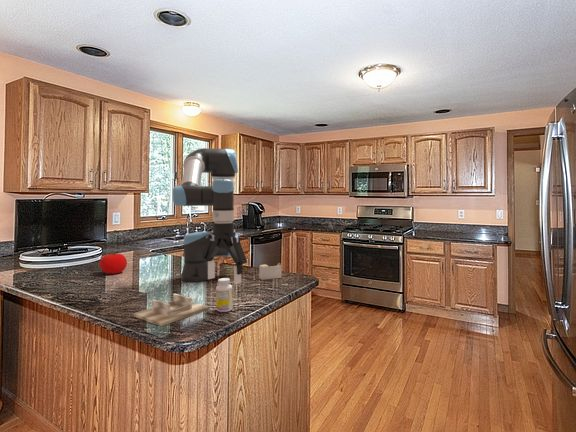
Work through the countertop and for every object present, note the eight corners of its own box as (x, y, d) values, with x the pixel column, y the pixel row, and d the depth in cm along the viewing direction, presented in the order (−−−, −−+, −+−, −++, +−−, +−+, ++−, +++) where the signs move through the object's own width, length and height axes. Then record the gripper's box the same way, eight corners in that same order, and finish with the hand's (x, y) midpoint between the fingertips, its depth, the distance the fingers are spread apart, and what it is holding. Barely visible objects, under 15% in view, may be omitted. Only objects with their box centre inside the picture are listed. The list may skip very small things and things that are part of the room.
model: (259, 279, 171) (259, 264, 170) (279, 277, 175) (278, 262, 175) (261, 280, 168) (261, 265, 167) (281, 278, 172) (281, 263, 172)
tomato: (131, 272, 185) (131, 252, 185) (108, 277, 174) (107, 255, 174) (119, 269, 192) (118, 250, 191) (95, 274, 181) (94, 253, 180)
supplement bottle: (224, 306, 128) (224, 276, 127) (236, 309, 125) (235, 278, 124) (212, 310, 123) (212, 279, 122) (224, 313, 120) (224, 282, 119)
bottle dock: (133, 316, 117) (132, 302, 117) (181, 301, 134) (181, 289, 133) (160, 326, 108) (160, 311, 108) (208, 309, 124) (208, 295, 124)
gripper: (192, 221, 126) (193, 278, 127) (241, 224, 112) (242, 287, 113) (208, 220, 132) (208, 274, 133) (256, 223, 118) (257, 283, 119)
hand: (224, 280), depth 123 cm, fingers open, 13 cm apart
